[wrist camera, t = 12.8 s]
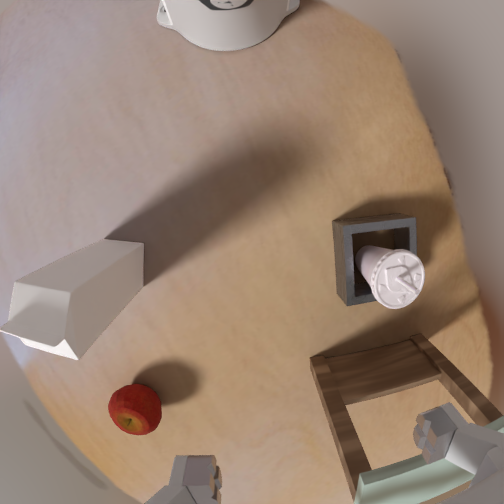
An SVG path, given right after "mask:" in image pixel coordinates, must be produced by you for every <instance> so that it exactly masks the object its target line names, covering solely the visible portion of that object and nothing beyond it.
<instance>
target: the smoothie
mask: <svg viewBox="0 0 504 504" xmlns="http://www.w3.org/2000/svg"><path fill="white" fill-rule="evenodd" d="M355 263H356V266H357V268H358V269H359V271H360V272H361V274H362V275H363V276H364V278H365V279H366V281H367V282H368V284H369V285H370V286H371V289H372V293H373V295H374V297H375V299H376V300H377V301H378V302H379V303H381V304H382V305H384V306H385V307H388V308H391V309H398V308H402V307H405V306H407V305H409V304H410V303H411V302H413V301H414V300H415V299H416V298H417V296H418V295H419V293H420V292H421V290H422V287H423V284H424V280H425V271H424V266H423V264H422V262H421V260H420V259H419V258H418V257H417V256H416V255H415V254H413V253H412V252H410V251H408V250H404V249H396V250H391V249H386V248H381V247H377V246H372V245H366V246H364V247H362V248H361V249H360V250H359V251H358V252H357V254H356V257H355Z"/></svg>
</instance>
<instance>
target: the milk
mask: <svg viewBox="0 0 504 504" xmlns="http://www.w3.org/2000/svg"><path fill="white" fill-rule="evenodd" d="M143 265H144V243H138V242H128V241H118V240H109V239H102V240H100V241H98V242H95V243H93V244H91V245H89V246H87V247H84V248H82V249H80V250H78V251H76V252H74V253H71V254H69V255H67V256H65V257H63V258H61V259H59V260H57V261H55V262H53V263H51V264H48V265H46V266H44V267H42V268H40V269H38V270H36V271H34V272H32V273H30V274H28V275H26V276H24V277H22V278H21V279H19V280H17V281H15V283H14V288H13V294H12V300H11V306H10V312H9V319H8V322H7V323H6V324H4V325H3V326H2V327H0V331H1V332H4V333H7V334H10V335H13V336H16V337H19V338H20V339H21V340H22V341H23V343H24V344H25V345H27V346H30V347H33V348H37V349H40V350H43V351H47V352H50V353H54V354H57V355H61V356H64V357H68V358H72V359H76V360H80V359H81V357H82V356H83V355H84V354H85V353H86V351H87V350H88V349H89V348H90V347H91V346H92V344H93V343H94V342H95V341H96V340H97V339H98V337H99V336H100V335H101V334H102V333H103V332H104V330H105V329H106V328H107V327H108V326H109V325H110V324H111V322H112V321H113V320H114V319H115V318H116V317H117V316H118V315H119V313H120V312H121V311H122V310H123V309H124V308H125V307H126V306H127V304H128V303H129V302H130V301H131V300H132V299H133V298H134V297H135V296H136V294H137V293H138V292H139V291H140V290H141V289H142V288H143Z"/></svg>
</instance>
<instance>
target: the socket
mask: <svg viewBox="0 0 504 504" xmlns="http://www.w3.org/2000/svg"><path fill="white" fill-rule="evenodd" d="M332 226H333V239H334V252H335V268H336V286H337V294H338V296H339V297H340V298H341V299H342V301H343V302H344V303H345V304H346V306H351V305H356V304H362V303H367V302H373V301H377V300H376V299H375V297H374V295H373V293H372V289H371V286H370V285H369V284H368V282H367V281H366V282H360V283H354V265H353V246H352V234H354V233H362V232H370V231H378V230H385V229H393V228H394V250H396V249H404V250H408V251H410V252H412V253H413V254H415V255H416V256H417V235H416V217H412V216H408V215H404V214H400V213H398V214H389V215H379V216H370V217H362V218H353V219H344V220H336V221H332Z"/></svg>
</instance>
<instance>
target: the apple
mask: <svg viewBox="0 0 504 504" xmlns="http://www.w3.org/2000/svg"><path fill="white" fill-rule="evenodd" d="M108 409H109V413H110V417H111V418H112V420H113V421H114V423H115V424H116V425H117V426H118V427H119V428H120V429H121V430H123V431H125V432H126V433H128V434H134V435H146V434H148V433H150V432H152V431H154V430H155V429H156V428H157V426H158V424H159V423H160V420H161V417H162V411H161V401H160V399H159V397H158V395H157V394H156V392H155V391H153V390H152V389H151V388H149V387H147V386H145V385H141V384H132V385H127V386H124V387H122V388H121V389H119V390H117V391H116V392H114V393H113V395H112V397H111V399H110V401H109V405H108Z"/></svg>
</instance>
